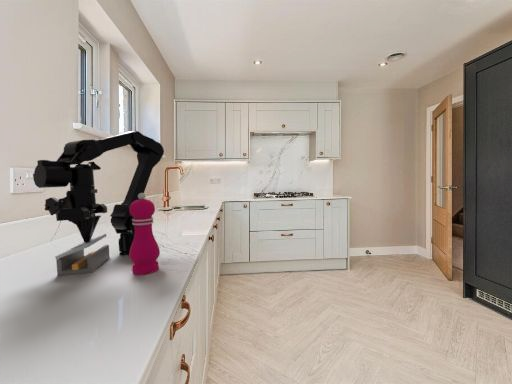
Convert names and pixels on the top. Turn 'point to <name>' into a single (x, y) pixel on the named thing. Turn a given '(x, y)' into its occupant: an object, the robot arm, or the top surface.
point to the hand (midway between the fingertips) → (87, 242)
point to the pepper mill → (143, 237)
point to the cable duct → (82, 261)
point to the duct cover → (80, 246)
